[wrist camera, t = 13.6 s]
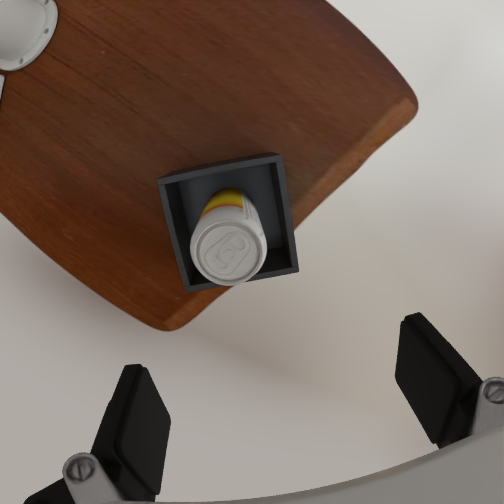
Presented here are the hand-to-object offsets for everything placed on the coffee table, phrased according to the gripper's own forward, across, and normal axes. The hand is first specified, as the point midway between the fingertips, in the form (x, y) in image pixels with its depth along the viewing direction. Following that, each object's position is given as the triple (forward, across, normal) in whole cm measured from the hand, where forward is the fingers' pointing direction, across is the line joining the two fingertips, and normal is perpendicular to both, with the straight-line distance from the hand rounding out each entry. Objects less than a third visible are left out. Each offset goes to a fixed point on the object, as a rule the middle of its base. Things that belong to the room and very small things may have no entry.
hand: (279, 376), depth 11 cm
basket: (+30, +2, 0) cm, 30 cm away
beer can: (+30, +2, 0) cm, 30 cm away
